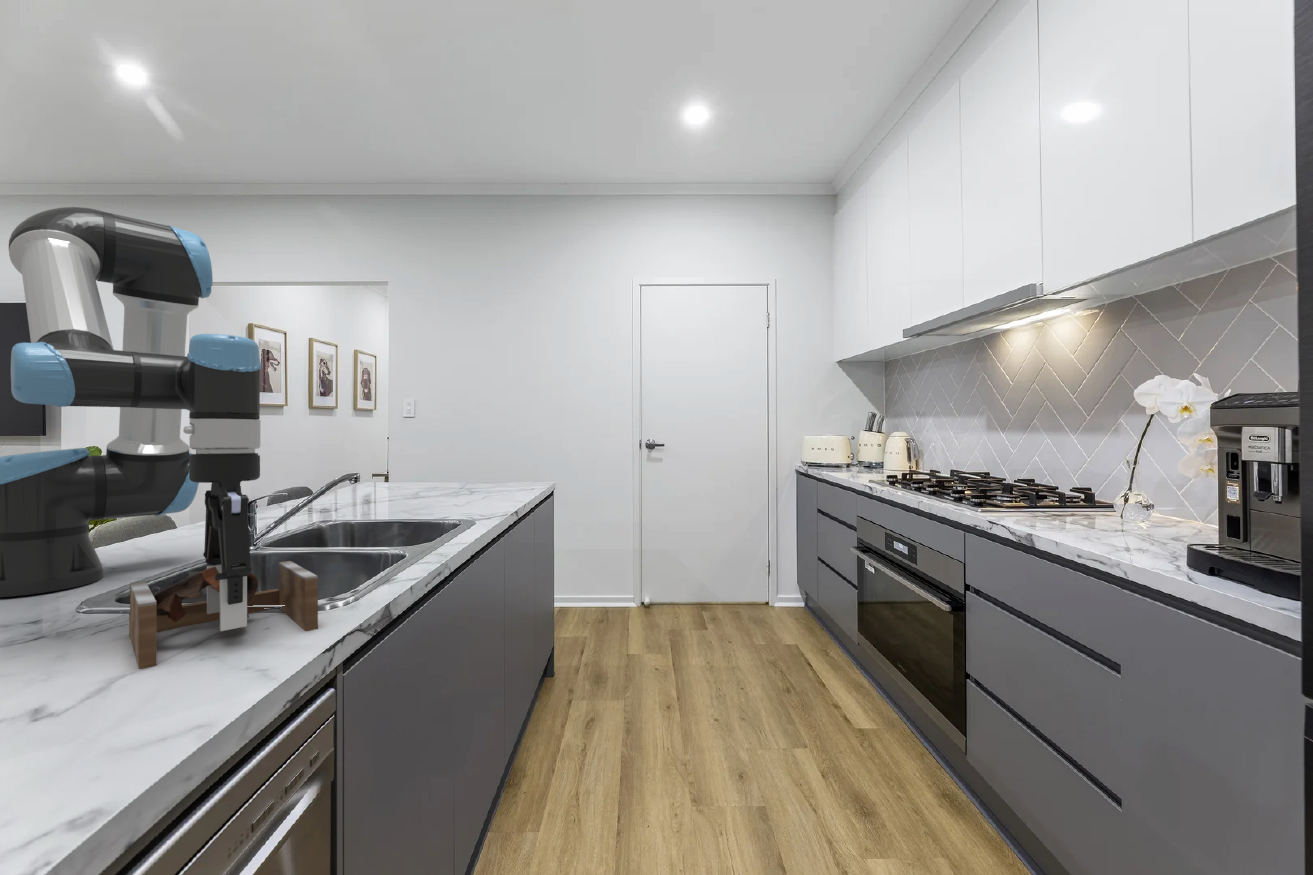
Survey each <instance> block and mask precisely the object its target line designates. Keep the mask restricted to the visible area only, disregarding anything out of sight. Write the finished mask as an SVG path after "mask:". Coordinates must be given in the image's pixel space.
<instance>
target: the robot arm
mask: <svg viewBox="0 0 1313 875" xmlns="http://www.w3.org/2000/svg"><path fill="white" fill-rule="evenodd" d="M8 256H9V259H10V262H11V265H13V267H14V268H15V269H16V271H17V272H18V273H19V274H20V275H21V276H22V286H23V291H24V299H25V306H26V314H27V322H28V329H29V330H28V331H29V337H30V342H17V343H16V344H14V345H13V346H12V348H11V353H10V354H11V355H10V384H11V387H10V390H11V394H12V397H13V398H14V400H16V401H18V402H20V403H22V404H23V403H24V404H30V405H31V404H32V405H44V406H45V405H48V406H55V407H60V408H62V407H63V408H65V407H85V408H86V407H89V408H91V407H94V408H95V407H96V408H107V407H108V408H119V422H118V424H119V425H118V436H117V437H115V439H112V440H111V441H109V442H108V443H107V444H106V452H105V454H103V455H102V454H101V455H91V452H90V451H89V449H88V448H86V447H79V448H77V447H75V448H67V449H55V450H46V451H35V452H28V453H16V454H10V455H3V456H2V455H1V456H0V598H9V597H18V596H19V597H20V596H27V595H36V594H43V593H50V592H56V591H63V590H68V589H72V588H76V587H81V586H86V585H89V584H92V583H95V582H98V581H100V580H102V579H103V576H104V575H103V573H104V572H103V571H104V570H103V563H102V562H101V559H100V558H99V555H98V553H97V551H96V549H95V546H94V545H93V543H92V540H91V539H90V536H89V535H90V534H89V533H90V532H89V530H90V529H89V523H90V521H98V520H109V519H110V520H111V519H121V518H122V519H124V518H132V517H146V516H162V515H167V514H175V513H181V512H184V511H185V510H186V509H188V508H189V507H190V505H191V504H192V503H193V501H194V500H195V497H196V495H197V492H198V488H199V484H200V483H201V484H202V483H203V484H204V483H205V484H207V483H208V484H209V483H210V486H211V488H210V490H209V489H208V490H206V491H205V492H204V505H205V522H204V523H205V524H204V525H205V528H204V550H203V554H202V555H203V558H204V559H205V563H206V565H207V566H206V569H208V568H212V567H216V568H217V570H218V572H219V573H221V574H216V576H215V581H217V580H220V592H218V591H216V590H214V589H213V588H212V587H211V586H210V585H209V586H207V587H206V601H207V614H212V613H217V612H220V620H219V631H220V632H225V631H230V630H234V629H239V628H240V629H241V628H245V627H247V626H248V618H247V574H248V573H250V572H251V573H252V566H251V564H252V563H251V552H250V551H251V550H250V547H251V545H250V532H249V531H250V530H249V514H248V513H249V502H250V498H249V497H248V495H247V494H243V493H242V486H241V483H242V482H251V481H257V480H258V479H259V478H260V477H261V456H260V454H259V453H258V452H257V453H256V449H258V450H259V449H260V447H261V419H260V418H261V417H260V414H261V412H260V411H261V406H260V405H261V403H260V402H261V400H260V399H261V397H260V396H261V388H260V387H261V369H262V363H261V359H260V348H259V345H258V343H257V342H256V341H255V340H253V339H251V338H248V337H244V336H238V335H231V334H220V333H199V334H196V335H193V336H192V337H191V338H190V339H189V346H188V353H187V355H186V344H187V343H186V342H187V341H186V339H187V328H188V327H187V325H188V324H187V323H188V314H189V313H191V312H192V311H194V310H195V309H198V308H199V302H200V301H199V300H200V298H201V299H206V298H207V299H208V298H209V297H210V295H211V293H212V287H213V270H212V269H213V268H212V261H211V256H210V252H209V250H208V247H207V244H206V243H205V241H204V240H203V238H202V237H201V236H200V235H198V234H196V233H194V232H191V231H188V230H185V229H181V228H178V227H174V226H173V225H172V226H171V225H166V224H162V223H158V222H153V221H147V220H144V219H143V220H142V219H138V218H133V217H130V216H125V215H121V214H116V213H111V212H106V211H102V210H99V209H95V208H92V207H91V208H90V207H83V206H82V207H81V206H80V207H79V206H67V207H65V206H64V207H63V206H62V207H56V208H52V209H46V210H43V211H41V212H37V213H35V214H34V215H31V216H29V217H27V218H26V219H24V220H23V221H22V222H20V223H19V224H18V225H16V227H15V228H14V230H13V231H12V232H11V235H10V237H9V240H8ZM97 282H101V283H102V282H103V283H108V284H112V295H113V296H114V297H116V299H117V300H118V301H119V302H121V304H123V307H124V309H123V312H124V313H123V332H122V350H118V349H114V346H113V342H112V338H111V335H110V334H111V333H110V331H109V327H108V322H107V317H106V316H105V311H104V308H103V304H102V299H101V296H100V292H99V288H98V283H97ZM183 410H186V411H189V413H188V414H189V416H188V417H189V418H188V419H189V424H190V426H189V425H187V426H184V427H183V429H182V430H183V431H182V432H183V433H184V434H186V435H190V436H189V444H188V443H186V442H185V441H184V440H183V439H182V438H181V428H182V427H181V426H182V411H183ZM190 449H191V450H195V453H191V452H190Z"/></svg>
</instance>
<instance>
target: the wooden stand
mask: <svg viewBox="0 0 1313 875" xmlns="http://www.w3.org/2000/svg"><path fill="white" fill-rule="evenodd" d="M318 587H319V576H318V575H317V574H315V573H313V572H311V571H310V570H308V569H307V568H304V567H302V566H300V565H298V564H297V563H295V562H293V561H292V560H288V561H279V562H278V588H273V589H268V590H263V591H262V590H261V591H256V592H255V594H254V596H253V597H252V598H251V599H250V600H249V601H248V602H247V606H253V605H285V606H282V607H279V609H280V608H281V609H280V610H281V611H282V612H283V613H284V614H285V615H286V616H288V617H289V618H290V620H292V621H293V622H294V623H295V624H296V625H297V626H298V627H300V629H302V630H303V631H304V632H305V633H306V632H310V631H313V630H314V629H315V630H318V629H319V617H318V616H319V588H318ZM182 607H183V608H184V610H185V611H186V614H185V615H184V617H182V618H181V619H179V620H178V621H177V622H174V621H172V620H171V619H170V618H168V615H165V616H158V615H157V604H156V600H155V598H154V594H153V592H152V590H151V589H150V587H149V585H148V583H147V581H146V580H143V581H136V582H134V581H133V582H130V583H129V613H128V616H129V617H128V620H129V621H128V622H129V624H128V625H129V626H128V627H129V628H128V629H129V630H128V631H129V637H130V639H129V640H130V644H131V646H133V647H132V650H133V654H134V657H135V661H136V664H137V667H138V670H140V669H141V670H142V669H145V668H150V667H155V666H157V662H158V660H157V659H158V657H157V654H158V650H157V646H158V645H157V639H158V638H157V633H161V632H167V631H171V630H175V629H180V628H186V627H190V625H191V626H195V625H200V624H205V623H209V622H214V621H220V617H219V615H218V614H219V613H220V612H217V613H212V614H207V600H203V601H202V600H201V601H197V602H195V601H194V602H190V603H189V602H188V603H185V604H183V603H182ZM264 608H274V609H276V608H275V607H247V610H248V615H249V614H254V613H255V614H256V613H258V612H259V613H260V612H264V611H265V612H266V611H269V610H268V609H264Z"/></svg>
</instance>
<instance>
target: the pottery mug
mask: <svg viewBox="0 0 1313 875" xmlns="http://www.w3.org/2000/svg"><path fill="white" fill-rule="evenodd" d="M216 574H221V573H219V572H218V570H217V568H216V567H212V568H208V569H207V568H206V569H204V570H202V571H199V572H197V573H195V574H192V575H190V576H188V577H186V578H184V579H182V580H180V581H177V582H176V583H174V584H171V585H170V586H169V585H168V586H167V587H166V588H164V589H162V590H160V591H158V592H157V593H155V594H153V596H154V598H155V600H156V604H157V615H158V616H165V615H168V618H170V619H171V620H172V621H174V622H177V621H178V620H179V619H181V618H182V617H184V615H185V614H186V611H185V610H184V608H183V607H182V605H183V603H182V600H184V599H191V600H193V599H194V600H196V599H200V598H202V597H203V594H202V593H201V591H202V590H204V589H205V588H207V586H209V585H210V586H211V587H212V588H213V589H214V590H216V591H218V592H220V580H217V581H215V576H216ZM258 581H259V580H258V578H257V576H256V575H255V574H254V573H253V572H252V571H251V572H250V573H248V574H247V602H248V601H249V600H250V599H251V598H252V597H253V596H254V594H255V592H257V589H258V586H259V582H258ZM218 615H219V617H220V613H219V614H218ZM248 618H250V616H249V614H248V610H247V619H248Z"/></svg>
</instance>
